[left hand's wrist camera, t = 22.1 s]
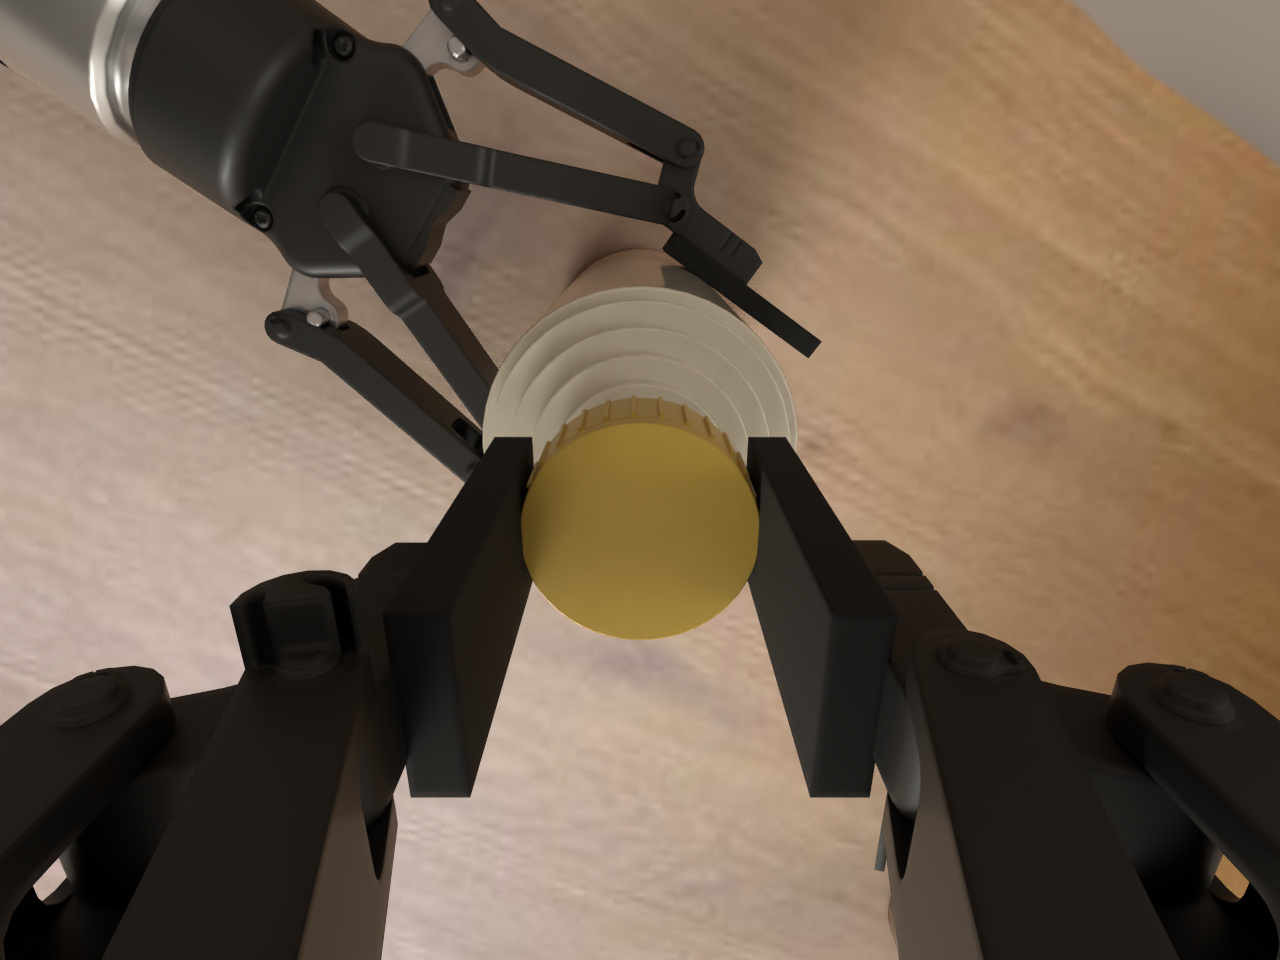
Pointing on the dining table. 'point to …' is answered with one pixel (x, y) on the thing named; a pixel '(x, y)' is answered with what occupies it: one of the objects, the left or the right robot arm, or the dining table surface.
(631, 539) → the cap
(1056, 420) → the dining table surface
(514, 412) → the bottle
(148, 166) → the dining table surface
